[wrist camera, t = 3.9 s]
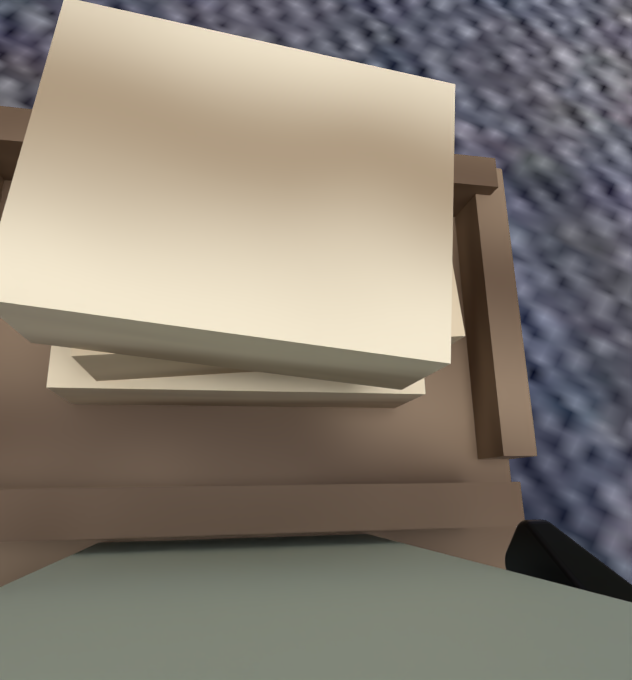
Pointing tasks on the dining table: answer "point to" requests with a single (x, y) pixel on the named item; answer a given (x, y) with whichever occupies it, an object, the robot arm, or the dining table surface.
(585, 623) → the sage panel
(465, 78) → the dining table surface
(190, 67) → the offcut stack
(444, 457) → the tray
